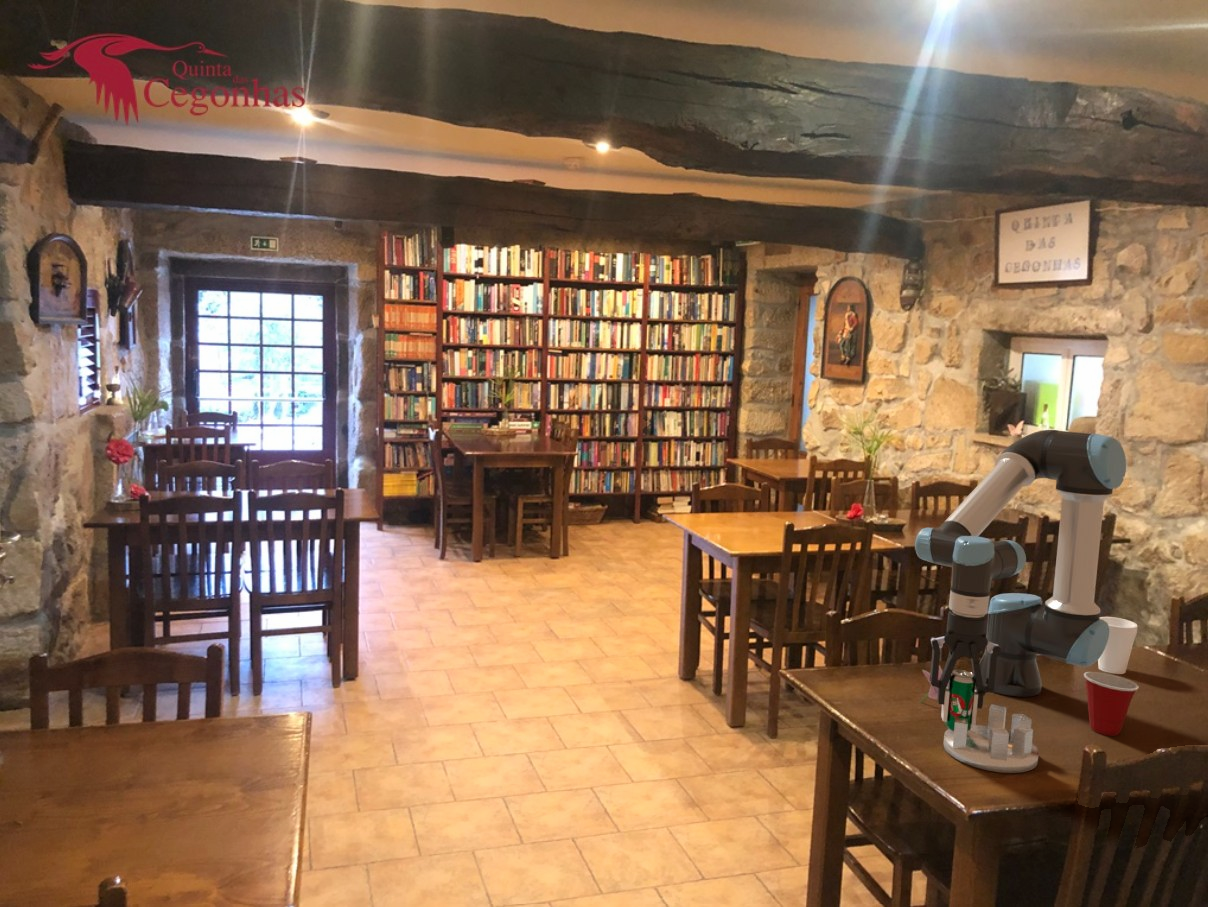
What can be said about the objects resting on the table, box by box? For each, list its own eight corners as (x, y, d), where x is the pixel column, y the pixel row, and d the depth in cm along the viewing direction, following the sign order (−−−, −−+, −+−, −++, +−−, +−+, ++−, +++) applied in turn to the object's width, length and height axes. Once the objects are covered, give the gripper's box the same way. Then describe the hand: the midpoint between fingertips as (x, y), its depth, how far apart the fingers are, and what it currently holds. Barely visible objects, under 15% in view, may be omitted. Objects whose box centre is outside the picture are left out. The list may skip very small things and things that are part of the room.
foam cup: (1139, 677, 237) (1144, 628, 235) (1103, 675, 237) (1108, 627, 235) (1119, 664, 246) (1124, 617, 245) (1085, 662, 246) (1089, 616, 245)
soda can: (962, 721, 193) (967, 668, 191) (975, 733, 188) (981, 678, 186) (940, 723, 192) (945, 669, 190) (953, 734, 187) (958, 679, 185)
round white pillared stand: (944, 727, 200) (947, 694, 199) (1034, 743, 194) (1038, 709, 193) (942, 761, 184) (945, 726, 183) (1040, 780, 177) (1044, 743, 176)
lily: (917, 721, 207) (942, 691, 203) (893, 683, 217) (916, 654, 213) (956, 730, 211) (980, 701, 208) (930, 693, 221) (953, 664, 217)
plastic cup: (1145, 738, 199) (1151, 685, 197) (1105, 743, 196) (1111, 689, 194) (1105, 718, 209) (1110, 668, 208) (1067, 722, 206) (1072, 671, 205)
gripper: (924, 613, 185) (915, 722, 188) (1019, 622, 181) (1008, 733, 184) (919, 603, 192) (910, 708, 195) (1010, 611, 188) (1000, 718, 191)
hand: (958, 720), depth 190 cm, fingers closed on soda can, 5 cm apart
